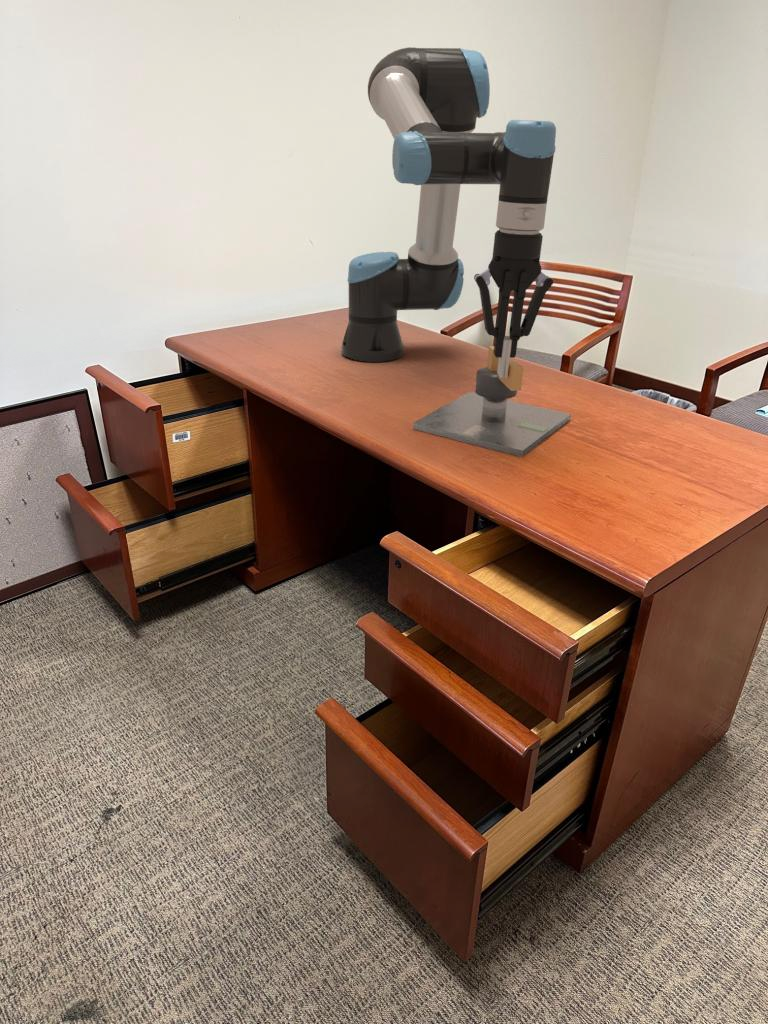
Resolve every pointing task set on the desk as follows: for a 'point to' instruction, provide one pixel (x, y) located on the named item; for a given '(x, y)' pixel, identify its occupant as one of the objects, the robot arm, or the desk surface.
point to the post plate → (493, 423)
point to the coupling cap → (498, 379)
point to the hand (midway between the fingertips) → (502, 375)
